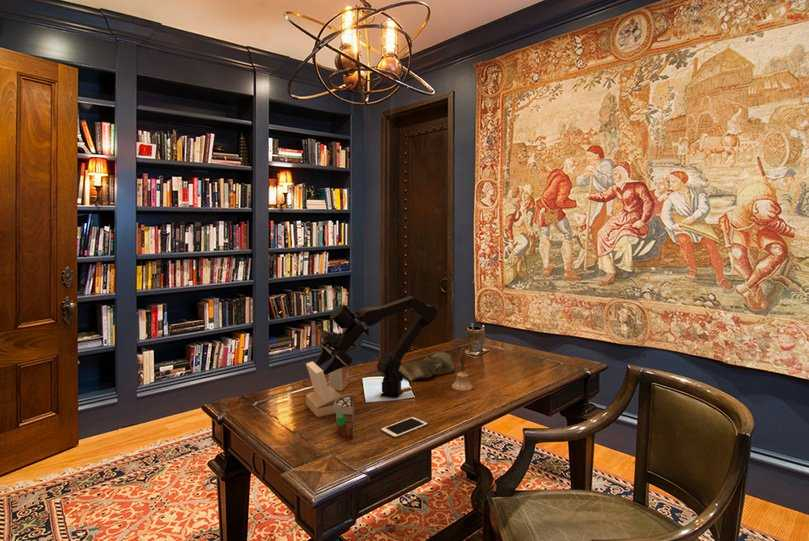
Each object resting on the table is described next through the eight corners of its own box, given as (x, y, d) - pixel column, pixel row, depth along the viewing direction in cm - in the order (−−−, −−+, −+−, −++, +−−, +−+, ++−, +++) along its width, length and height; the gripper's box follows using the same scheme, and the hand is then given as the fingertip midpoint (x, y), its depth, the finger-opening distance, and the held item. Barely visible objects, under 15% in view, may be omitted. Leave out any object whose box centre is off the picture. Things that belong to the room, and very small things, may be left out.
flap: (329, 386, 169) (320, 357, 167) (341, 396, 159) (332, 366, 156) (306, 396, 165) (297, 367, 163) (316, 408, 155) (307, 377, 152)
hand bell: (477, 387, 183) (477, 347, 181) (464, 392, 177) (464, 352, 175) (460, 382, 188) (460, 344, 187) (447, 387, 182) (447, 348, 181)
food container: (335, 423, 151) (334, 393, 150) (354, 422, 151) (353, 392, 150) (332, 440, 138) (331, 408, 137) (353, 439, 139) (352, 407, 138)
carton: (331, 399, 170) (331, 392, 170) (343, 411, 160) (343, 403, 159) (306, 404, 166) (306, 397, 166) (317, 417, 155) (316, 409, 155)
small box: (342, 391, 179) (341, 364, 178) (328, 390, 180) (328, 364, 179) (349, 384, 187) (348, 358, 186) (335, 383, 188) (335, 358, 187)
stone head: (385, 365, 202) (434, 350, 218) (389, 384, 201) (437, 368, 218) (411, 367, 186) (461, 350, 202) (415, 387, 186) (465, 369, 202)
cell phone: (379, 431, 145) (378, 428, 145) (413, 418, 155) (413, 415, 154) (394, 440, 139) (394, 437, 139) (429, 426, 149) (429, 423, 149)
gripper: (325, 317, 170) (296, 349, 166) (344, 327, 154) (311, 363, 149) (345, 336, 174) (316, 368, 170) (365, 348, 158) (334, 383, 154)
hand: (319, 370), depth 161 cm, fingers open, 9 cm apart
